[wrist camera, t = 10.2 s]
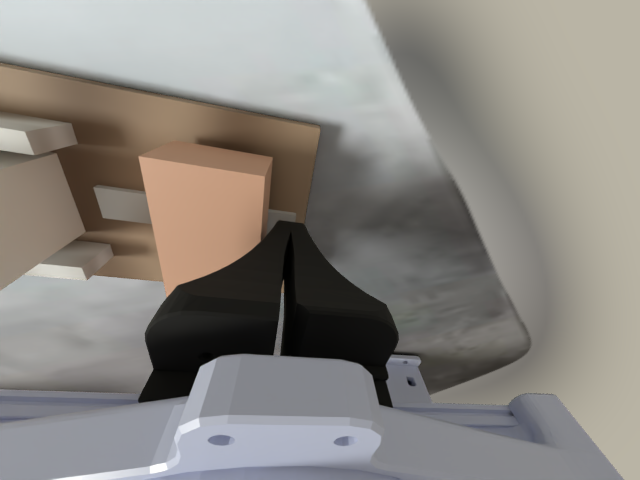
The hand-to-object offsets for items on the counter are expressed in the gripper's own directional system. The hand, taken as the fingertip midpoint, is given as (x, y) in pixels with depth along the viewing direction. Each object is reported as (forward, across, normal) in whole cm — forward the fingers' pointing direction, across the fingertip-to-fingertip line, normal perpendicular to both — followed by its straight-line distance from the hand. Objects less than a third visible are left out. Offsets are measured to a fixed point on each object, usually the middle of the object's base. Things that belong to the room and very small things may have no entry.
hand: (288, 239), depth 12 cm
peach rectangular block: (+1, +3, 0) cm, 3 cm away
